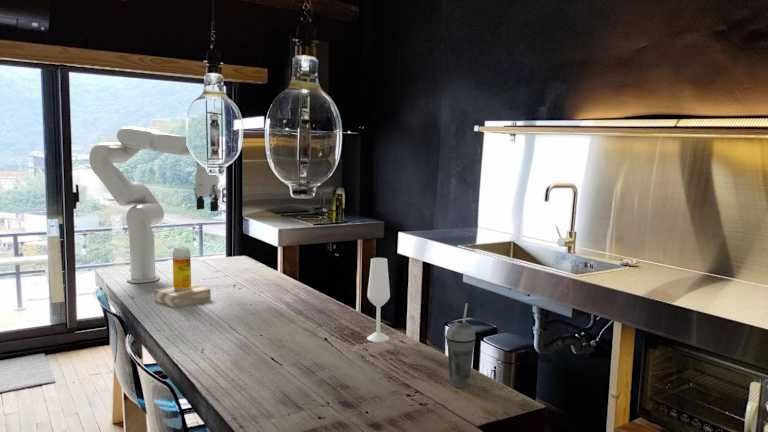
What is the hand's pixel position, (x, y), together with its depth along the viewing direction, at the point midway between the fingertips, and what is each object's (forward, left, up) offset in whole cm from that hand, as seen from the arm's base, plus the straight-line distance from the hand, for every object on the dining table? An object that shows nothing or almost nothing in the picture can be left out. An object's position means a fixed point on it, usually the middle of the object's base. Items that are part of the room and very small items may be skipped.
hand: (207, 210), depth 232 cm
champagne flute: (+95, -5, -31) cm, 100 cm away
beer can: (+15, -21, -26) cm, 37 cm away
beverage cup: (+131, -17, -31) cm, 135 cm away
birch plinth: (+15, -21, -30) cm, 40 cm away
